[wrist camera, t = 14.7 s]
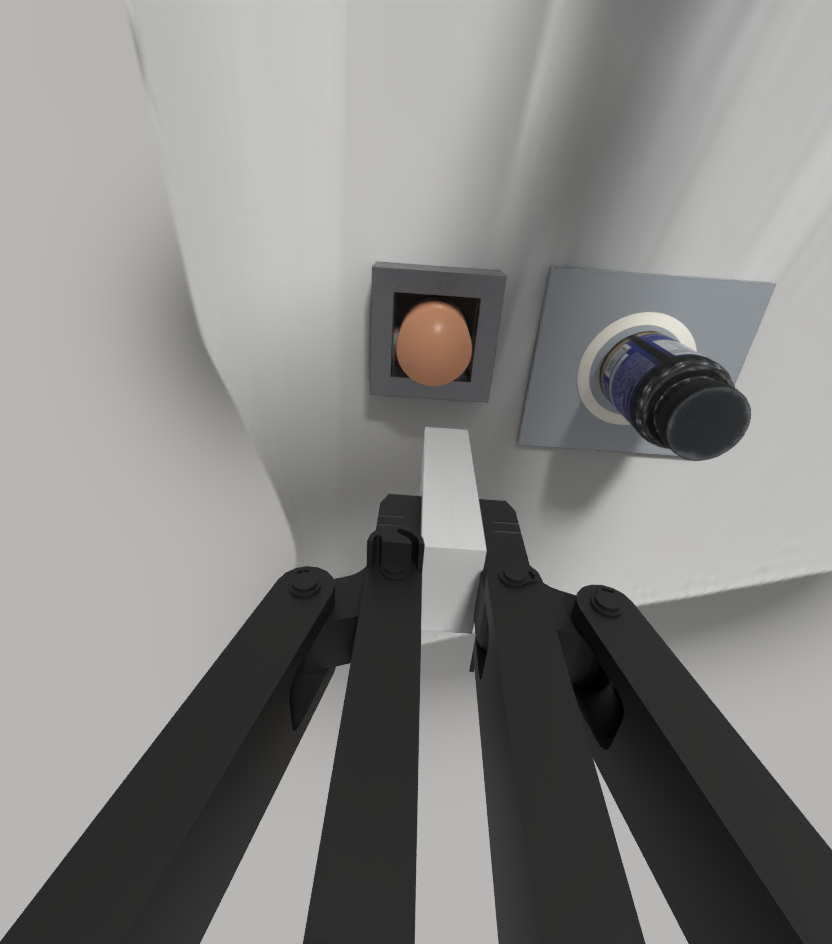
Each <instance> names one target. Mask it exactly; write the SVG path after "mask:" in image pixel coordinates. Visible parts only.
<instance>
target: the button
mask: <svg viewBox="0 0 832 944" xmlns="http://www.w3.org/2000/svg"><path fill="white" fill-rule="evenodd" d="M396 348H397V358H398V361H399V364H400V366H401V368H402V369H403V371H404V372H405V373H406V374H407V375H408V376H409V377H410V378H411V379H412V380H414V381H416V382H417V383H420V384H423V385H426V386H441V385H445V384H448V383H450V382H452V381H454V380H455V379H457V378H458V377H459V376H460V375H461V374H462V373H463V372H464V371H465V369H466V368H467V366H468V364H469V362H470V359H471V354H472V342H471V338H470V334H469V331H468V327H467V324H466V320H465V318H464V316H463V314H462V312H461V311H460V309H459V308H458V307H457V306H456V305H455V304H454V303H452V302H450V301H449V300H446V299H443V298H439V297H430V298H425V299H422V300H420V301H418V302H416V303H415V304H413V305H412V306H411V307H410V308H409V309H408V311H407V312H406V314H405V315H404V317H403V320H402V324H401V328H400V332H399V336H398V341H397V347H396Z"/></svg>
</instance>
